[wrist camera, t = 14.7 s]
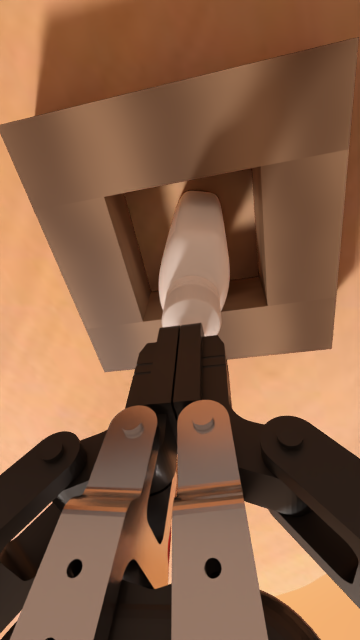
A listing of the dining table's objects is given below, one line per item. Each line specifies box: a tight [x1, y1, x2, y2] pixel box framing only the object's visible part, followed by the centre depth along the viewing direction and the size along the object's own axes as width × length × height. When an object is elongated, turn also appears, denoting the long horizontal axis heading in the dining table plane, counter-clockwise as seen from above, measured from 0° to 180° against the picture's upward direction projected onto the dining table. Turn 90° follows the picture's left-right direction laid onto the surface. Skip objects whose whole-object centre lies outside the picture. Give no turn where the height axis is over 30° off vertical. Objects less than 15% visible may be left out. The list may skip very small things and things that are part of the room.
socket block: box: [0, 37, 359, 372], centre depth 20 cm, size 16×16×4 cm
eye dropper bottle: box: [159, 191, 230, 336], centre depth 17 cm, size 4×6×12 cm
